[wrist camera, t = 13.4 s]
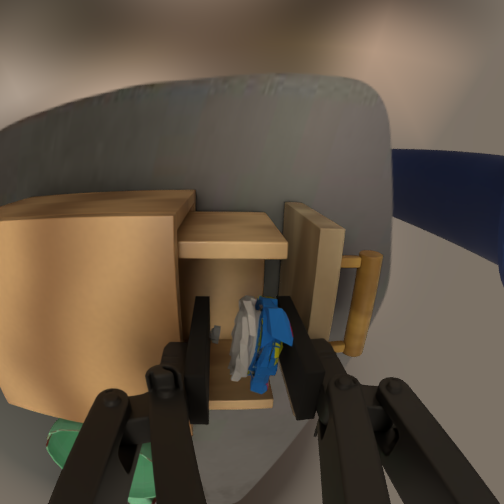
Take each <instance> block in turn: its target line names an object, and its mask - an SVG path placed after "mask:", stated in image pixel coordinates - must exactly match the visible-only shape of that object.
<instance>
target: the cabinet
mask: <svg viewBox="0 0 504 504" xmlns="http://www.w3.org/2000/svg"><path fill="white" fill-rule="evenodd" d="M195 204H196V191H195V190H140V191H112V192H92V193H75V194H61V195H48V196H36V197H30V198H27V199H23V200H20V201H17V202H13V203H10V204H7V205H4V206H1V207H0V388H1V389H2V391H3V393H4V395H5V397H6V399H7V401H8V403H10V404H13V405H16V406H19V407H22V408H25V409H28V410H32V411H35V412H39V413H42V414H46V415H50V416H54V417H58V418H62V419H66V420H70V421H75V422H80V423H84V421H85V419H86V417H87V415H88V412H89V410H90V408H91V406H92V404H93V402H94V400H95V398H96V397H97V395H98V394H99V393H100V392H102V391H104V390H106V389H110V388H117V389H120V390H123V391H124V392H126V393H127V395H128V396H134V395H140V394H144V393H146V392H148V388H147V383H146V379H145V374H146V371H147V370H148V369H149V368H151V367H153V366H155V365H159V364H160V362H161V357H162V353H163V350H164V347H165V346H166V345H167V344H168V343H169V342H183V333H182V321H181V307H180V291H179V273H178V248H177V230H178V228H179V226H180V225H181V223H182V221H183V220H184V218H185V217H186V215H187V213H188V212H189V211H195ZM189 426H190V431H191V436H193V424H190V420H189Z"/></svg>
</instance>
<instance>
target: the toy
mask: <svg viewBox="0 0 504 504" xmlns="http://www.w3.org/2000/svg"><path fill="white" fill-rule="evenodd" d="M255 303H256V304H255ZM255 308H256V310H255ZM234 322H235V325H234V328H233V330H232V333H231V336H232V344H231V348H230V353H229V355H230V356H231V360H230V363H229V365H228V369H230V375H232V376H231V380H232V381H237V382H238V381H239V380H240V379H241V377H247V376H250V375H251V381H250V391H253V392H256V393H259V394H263V393H265V392H266V391H267V390H268V387H269V382H268V381H269V376H270V375H275V374H276V371H277V364H278V358H279V355H280V353H281V351H282V348H283V342H284V343H286V344H288V345H290V346H292V344H293V333H292V329H291V325H290V321H289V319H288V316H287V314H286V312H285V311H284V310H283V309H282V308H278V301H277V299H276V298H272V297H264V296H260V295H259V297H258V298H257V300H256V299H255V298H254V297H253V296H248V295H245V296H244V297H242V298H241V299H240V300H239V311H238V313H237V315H236V318H235V320H234ZM220 329H221V326H217V325H214V328H212V331H209V332H211V333H209V334H210V335H209V337H210V340H212V343H215V344H218V342H219V337H220ZM273 347H274V348H273ZM272 349H273V350H272Z"/></svg>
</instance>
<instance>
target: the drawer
mask: <svg viewBox="0 0 504 504" xmlns="http://www.w3.org/2000/svg"><path fill="white" fill-rule="evenodd" d="M344 237H345V229H344V228H342V227H341V226H339V225H338V224H336V223H334V222H333V221H331V220H330V219H328V218H326V217H325V216H323V215H321V214H320V213H318V212H316V211H315V210H313V209H311V208H310V207H308V206H306V205H305V204H303V203H298V202H285V210H284V226H283V235H282V234H281V232H280V231H279V230H278V228H277V227H276V226H275V225H274V223H273V222H272V221H271V219H270V218H269V217H268V215H267V214H266V213H265V212H202V211H189V212H188V213H187V215H186V217H185V218H184V220H183V221H182V223H181V225H180V226H179V228H178V230H177V248H178V273H179V291H180V307H181V321H182V333H183V342H188V341H189V334H190V327H191V321H192V315H193V308H194V302H195V296H210V331H212V328H214V325H217V326H221V329H220V337H219V342H218V344H215V343H212V340H211V344H210V376H209V410H229V409H261V408H272V407H273V395H272V390H271V386H270V381H268V382H269V387H268V390H267V391H266V392H265V393H263V394H259V393H256V392H253V391H250V381H251V375H250V376H247V377H241V379H240V380H239V381H238V382H237V381H232V380H231V376H232V375H230V369H228V365H229V363H230V360H231V356H230V355H229V353H230V348H231V344H232V336H231V333H232V330H233V328H234V325H235V322H234V320H235V318H236V315H237V313H238V311H239V300H240V299H241V298H242V297H244V296H245V295H248V296H253V297H254V298H255V299H256V300H257V298H258V297H259V295H260V296H263V285H264V267H265V259H281V269H280V283H279V295H278V296H290V297H291V299H292V301H293V303H294V305H295V307H296V309H297V312H298V314H299V316H300V318H301V320H302V322H303V324H304V326H305V328H306V331H307V333H308V335H309V337H310V339H319V338H324V339H325V340H326V341H329V336H330V330H331V325H332V319H333V313H334V308H335V301H336V295H337V289H338V282H339V275H340V268H357V270H356V277H355V283H354V289H353V294H352V300H351V305H350V311H349V316H348V321H347V326H346V331H345V335H344V340H343V341H331V342H329V343H330V344H331V346H332V347H333V349H334V352H335V353H336V352H343V353H344V354H345V355H347V356H351V357H356V356H360V355H361V354H362V352H363V348H364V344H365V340H366V336H367V332H368V328H369V324H370V320H371V316H372V311H373V307H374V302H375V297H376V292H377V287H378V282H379V277H380V271H381V266H382V260H383V255H382V254H380V253H378V252H375V251H370V250H363V251H360V252H359V256H351V255H342V253H343V245H344ZM255 304H256V303H255ZM255 310H256V308H255ZM210 333H211V332H210ZM278 361H279V365H280V369H281V372H282V376H283V379H284V383H285V387H286V390H287V394H288V397H289V401H290V405H291V408H292V412H293V415H294V416H295V413H294V410H293V406H292V403H291V399H290V396H289V392H288V389H287V385H286V382H285V378H284V375H283V371H282V368H281V364H280V360H279V358H278Z"/></svg>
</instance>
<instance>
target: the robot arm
mask: <svg viewBox="0 0 504 504" xmlns="http://www.w3.org/2000/svg"><path fill="white" fill-rule="evenodd" d="M276 299H277V301H278V308H282V309H283V310H284V311H285V312H286V314H287V316H288V319H289V321H290V325H291V329H292V333H293V344H292V346H290V345H288V344H286V343H284V342H283V348H282V351H281V353H280V355H279V360H280V364H281V368H282V371H283V375H284V378H285V382H286V385H287V389H288V392H289V396H290V399H291V403H292V406H293V410H294V413H295V417H296V420H305V419H313V418H314V416H315V413H316V411H317V413H318V416H319V419H318V422H317V426H316V429H315V433H314V436H315V437H316V436H317V433H318V444H319V456H320V469H321V484H322V498H323V499H322V500H323V504H391V503H390V498H389V494H388V489H387V485H386V480H385V476H384V472H383V467H384V469H385V471H386V473H387V474H388V476H389V478H390V480H391V482H392V483H393V485H394V487H395V489H396V490H397V492H398V494H399V496H400V498H401V499H402V501H403V503H404V504H500V503H499V502H498V500H497V499H496V498H495V496H494V495H493V493H492V492H491V491H490V489H489V488H488V487H487V485H486V484H485V483H484V481H483V480H482V479H481V477H480V476H479V475H478V473H477V472H476V471H475V469H474V468H473V467H472V465H471V464H470V463H469V461H468V460H467V459H466V457H465V456H464V455H463V453H462V452H461V451H460V450H459V448H458V447H457V446H456V444H455V443H454V442H453V441H452V439H451V438H450V437H449V436H448V434H447V433H446V432H445V430H444V429H443V428H442V427H441V425H440V424H439V423H438V422H437V420H436V419H435V418H434V417H433V415H432V414H431V413H430V412H429V410H428V409H427V408H426V407H425V405H424V404H423V403H422V402H421V401H420V399H419V398H418V397H417V396H416V394H415V393H414V392H413V391H412V389H411V388H410V387H409V386H408V385H407V384H406V383H405V382H404V381H403V380H401V379H398V378H393V377H390V378H385V379H383V380H382V381H381V382H380V383H379V386H368V385H362V384H360V383H359V381H358V380H357V379H356V378H355V377H353V376H350V375H348V374H347V373H346V371H345V369H344V367H343V365H342V364H341V362H340V360H339V358H338V357H337V355H336V353H335V352H334V349H333V347H332V346H331V344H330V343H329V342H328V341H326V340H325V339H324V338H319V339H310V337H309V335H308V333H307V331H306V328H305V326H304V324H303V322H302V320H301V318H300V316H299V314H298V312H297V309H296V307H295V305H294V303H293V301H292V299H291V297H290V296H276ZM209 331H210V296H195V302H194V308H193V315H192V321H191V327H190V334H189V341H188V342H169V343H168V344H167V345H166V346H165V347H164V350H163V353H162V357H161V362H160V364H159V365H155V366H153V367H151V368H149V369H148V370H147V371H146V374H145V379H146V383H147V388H148V392H146V393H144V394H140V395H134V396H128V395H127V393H126V392H124V391H123V390H120V389H117V388H110V389H106V390H104V391H102V392H100V393H99V394H98V395H97V397H96V398H95V400H94V402H93V404H92V406H91V408H90V410H89V412H88V415H87V417H86V419H85V421H84V423H83V425H82V427H81V429H80V431H79V433H78V435H77V438H76V440H75V442H74V444H73V446H72V449H71V451H70V453H69V455H68V457H67V460H66V462H65V464H64V467H63V469H62V471H61V474H60V476H59V478H58V481H57V483H56V486H55V488H54V490H53V493H52V495H51V498H50V500H49V503H48V504H127V501H128V497H129V493H130V489H131V485H132V481H133V477H134V473H135V469H136V466H137V462H138V458H139V454H140V451H141V447H142V444H143V443H150V442H151V454H152V466H153V476H154V486H155V494H156V502H157V504H207V503H206V499H205V495H204V491H203V487H202V483H201V479H200V474H199V470H198V465H197V461H196V456H195V451H194V446H193V441H192V436H191V431H190V426H189V420H190V424H209V376H210V344H211V340H210V337H209V335H210V334H209V333H210V332H209ZM382 466H383V467H382Z"/></svg>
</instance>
